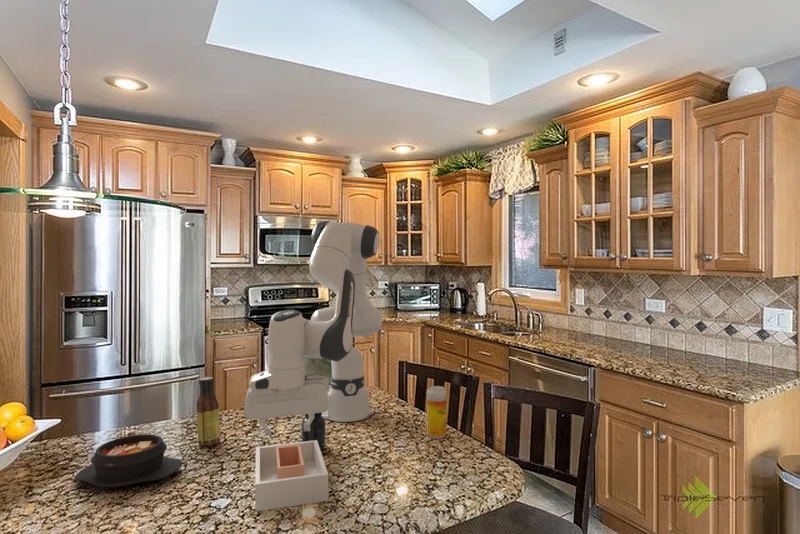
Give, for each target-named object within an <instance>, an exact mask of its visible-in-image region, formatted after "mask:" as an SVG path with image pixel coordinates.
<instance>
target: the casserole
mask: <svg viewBox="0 0 800 534" xmlns="http://www.w3.org/2000/svg"><path fill="white" fill-rule="evenodd" d="M167 449H168V445H167V444H166V443H165V442H164V439H163V438H162V437H161V436H160V435H155V434H135V435H129V436H124V437H120V438H116V439H112V440H109V441H107V442H105V443H102V444H101V445H99V446H98V447H97V448H96V449H95V452H94V454H93V456H92V457H91V458H90V463H91V464H90V465H87V466H86V467H84V468H83V469H81V470H80V471H78V472H77V474H76V475H75V476H74V479H75V480H76V481H80V482H83V483H88V484H90V485H93V486H95V487H101V488H102V487H103V488H113V487H114V488H115V487H117V488H118V487H126V486H131V485H132V486H133V485H135V484H139V483H147V482H153V481H154V482H155V481H159V480H162V479H165V478H167V477H169V476H170V475H172V474H174V473H176V472H177V471H178V470H180V469H181V468H182V466H183V461H182V460H181V459H179V458H173V457H168V456H165V451H166V450H167Z"/></svg>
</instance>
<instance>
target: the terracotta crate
mask: <svg viewBox="0 0 800 534" xmlns="http://www.w3.org/2000/svg"><path fill="white" fill-rule="evenodd" d="M276 473H277V479H284V478H291V477H299V476H304V462H303V457H302V453H301V448H300V445H293V446H284V447H276Z"/></svg>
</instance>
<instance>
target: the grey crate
mask: <svg viewBox="0 0 800 534" xmlns="http://www.w3.org/2000/svg"><path fill="white" fill-rule="evenodd" d="M293 445H300V448H301V453H302V457H303V462H304V476H299V477H291V478H284V479H277V473H276V447H284V446H293ZM254 474H255V475H254V477H255V479H254V488H255V489H254V501H255V502H254V504H255V506H254V507H255V509H254V510H255V511H254V512H263V511H268V510H269V511H270V510H275V509H281V508H282V509H283V508H289V507H295V506H300V505H308V504H314V503H320V502H321V503H322V502H328V501H329V499H330V497H329V472H328V470H327V467H326V463H325V460H324V458H323V454H322V452H321V451H320V448H319V444H318V441H317V440H314V441H305V442H302V441H298V442H292V443H291V442H290V443H280V444H279V443H278V444H272V445H263V446H256V447H255V473H254Z"/></svg>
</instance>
